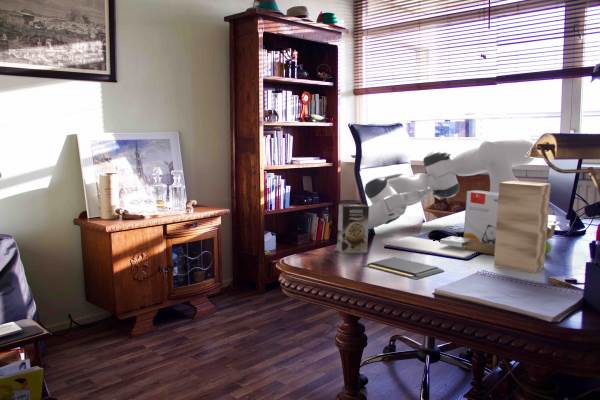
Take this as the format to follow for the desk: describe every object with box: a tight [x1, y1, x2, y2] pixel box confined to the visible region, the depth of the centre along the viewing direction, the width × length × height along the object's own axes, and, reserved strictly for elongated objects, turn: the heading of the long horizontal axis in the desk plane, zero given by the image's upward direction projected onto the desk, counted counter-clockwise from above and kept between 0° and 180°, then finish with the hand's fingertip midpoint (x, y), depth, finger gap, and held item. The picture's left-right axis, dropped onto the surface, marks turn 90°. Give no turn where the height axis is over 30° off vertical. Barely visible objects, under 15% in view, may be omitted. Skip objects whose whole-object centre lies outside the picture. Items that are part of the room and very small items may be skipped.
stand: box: [493, 181, 552, 274], centre depth 161 cm, size 10×12×26 cm
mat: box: [384, 235, 477, 259], centre depth 188 cm, size 18×30×1 cm, turn 50°
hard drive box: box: [463, 189, 499, 244], centre depth 189 cm, size 16×8×20 cm, turn 41°
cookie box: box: [336, 203, 370, 255], centre depth 178 cm, size 9×6×16 cm
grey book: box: [362, 256, 445, 281], centre depth 157 cm, size 20×2×15 cm
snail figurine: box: [545, 221, 557, 256], centre depth 178 cm, size 5×6×12 cm
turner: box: [439, 235, 495, 256], centre depth 182 cm, size 9×21×3 cm, turn 49°
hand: (424, 190), depth 192 cm, fingers open, 8 cm apart
